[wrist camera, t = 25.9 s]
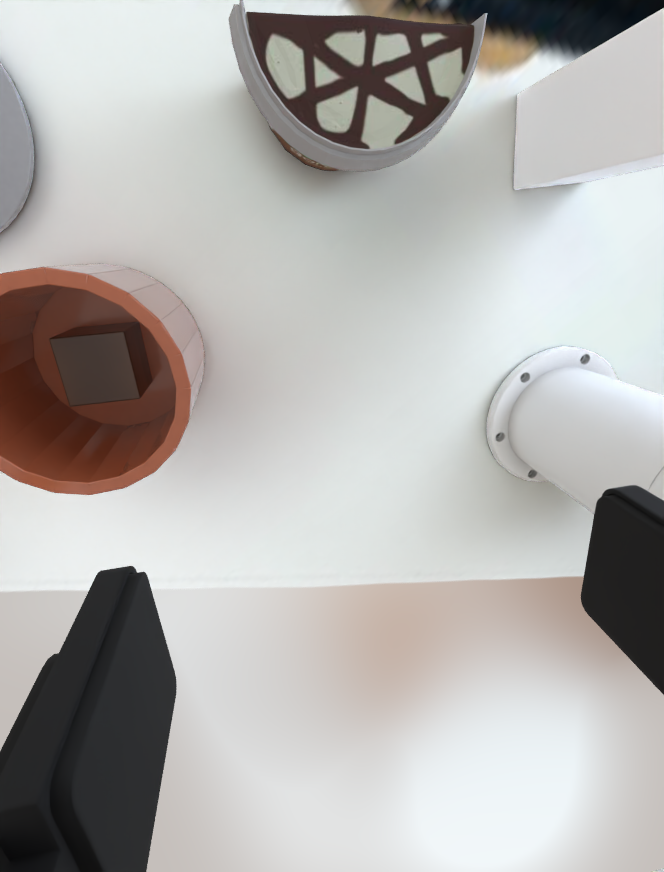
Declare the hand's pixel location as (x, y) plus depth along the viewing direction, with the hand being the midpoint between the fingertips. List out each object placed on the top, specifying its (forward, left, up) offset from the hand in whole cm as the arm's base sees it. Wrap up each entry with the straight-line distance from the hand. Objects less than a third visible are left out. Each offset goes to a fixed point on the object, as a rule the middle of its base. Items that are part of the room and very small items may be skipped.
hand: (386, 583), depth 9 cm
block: (+8, +9, -27) cm, 30 cm away
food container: (+7, -12, -28) cm, 31 cm away
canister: (+8, +9, -28) cm, 30 cm away
